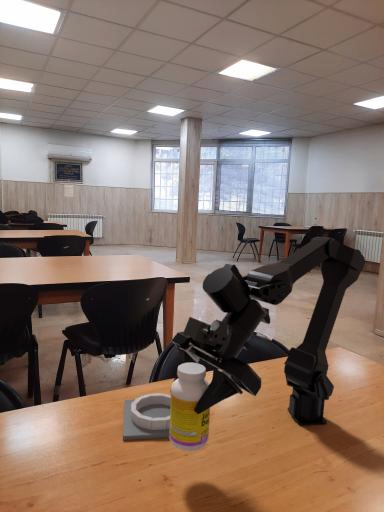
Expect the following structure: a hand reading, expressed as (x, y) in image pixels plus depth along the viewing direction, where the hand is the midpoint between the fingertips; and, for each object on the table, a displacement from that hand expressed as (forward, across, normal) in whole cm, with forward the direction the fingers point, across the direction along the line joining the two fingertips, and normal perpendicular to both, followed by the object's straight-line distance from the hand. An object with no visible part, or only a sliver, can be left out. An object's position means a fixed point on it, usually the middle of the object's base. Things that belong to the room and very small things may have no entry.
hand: (183, 402), depth 63 cm
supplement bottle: (+4, 0, +6) cm, 7 cm away
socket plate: (+5, -17, +13) cm, 22 cm away
